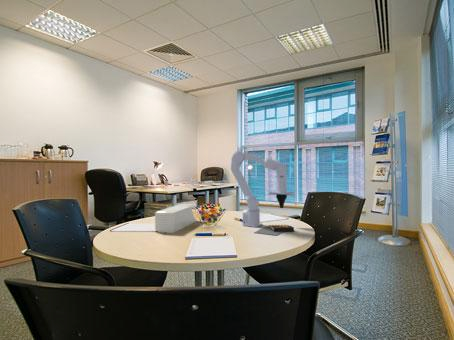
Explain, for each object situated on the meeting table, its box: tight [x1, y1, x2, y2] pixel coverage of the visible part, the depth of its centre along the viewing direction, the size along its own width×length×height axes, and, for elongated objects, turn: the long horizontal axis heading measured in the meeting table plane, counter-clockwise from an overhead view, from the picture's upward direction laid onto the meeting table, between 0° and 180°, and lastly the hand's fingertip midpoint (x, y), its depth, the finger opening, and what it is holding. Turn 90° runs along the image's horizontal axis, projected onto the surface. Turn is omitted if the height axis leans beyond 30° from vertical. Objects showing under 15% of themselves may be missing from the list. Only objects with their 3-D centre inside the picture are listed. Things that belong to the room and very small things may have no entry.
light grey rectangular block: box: [154, 203, 197, 234], centre depth 151 cm, size 32×11×11 cm, turn 165°
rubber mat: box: [254, 225, 284, 237], centre depth 137 cm, size 12×16×1 cm
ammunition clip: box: [269, 223, 295, 232], centre depth 140 cm, size 11×2×12 cm
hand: (281, 207), depth 148 cm, fingers closed
